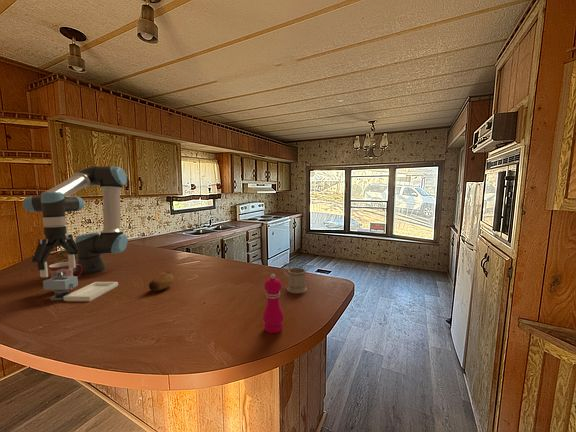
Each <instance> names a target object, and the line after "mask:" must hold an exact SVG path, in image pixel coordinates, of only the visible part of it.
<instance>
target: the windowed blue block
mask: <svg viewBox="0 0 576 432" xmlns="http://www.w3.org/2000/svg"><path fill="white" fill-rule="evenodd" d="M63 279H64V280H58V279H57V276H55V277H53V278H51V277H50V278H48V279H45V280H42V287H43V290H46V291H47V290H48V291H49V290H50V291H51V290H52V291H54V290H66V289H69V288H74V289H75V288H77V287H78V285H79V281H78V279H79V278H78V279H77V275H76V276H74V275H73V276H63Z"/></svg>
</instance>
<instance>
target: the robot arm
mask: <svg viewBox="0 0 576 432" xmlns="http://www.w3.org/2000/svg"><path fill="white" fill-rule="evenodd" d="M127 182H128V178H127V174H126V172H125V170H124V169H123V168H122V167H120V166H115V165H114V166H113V165H108V166H106V165H105V166H98V165H95V166H94V165H93V166H89V167H86V168H82V169H80V170H78V171H76V172H74V173H72V175H71V176H70V177H69V178H68V179H66V180H64V181H62V182H60V183H59V184H57V185H56V186H54V187H52V188H51V187H50V189H47V190H45V191H42V192H41V194H39V195H37V196H35V195H33V196H26V197H25V198H24V199H23V201H22V207H23V208H24V209H25V211H27V212H29V213H42V222H43V235H44V236H45V238H39V239H38V241H37V242H38V243H37V247H36V249H35V252H34V254H33V257H32V259H31V262H32V263H35V264H37V268H38V271H39V276H40V278H48V277H49V269H48V262H47V259H48V257H49V256H50V254H51V252H52V251H53V249H55V248H58V247H62V248H63V250H65V251H66V252H67V253H68V254H67V262H68V263H69V268H74V270H73V273H74V274H75V275H77V274H78V272H79V266H76V265H75V264H80V265H81V266H82V272H81V274H80V275H88V274H94V273H98V272H101V271H103V270H105V269H106V264H105V262H104V260H103V258H102V254H103V255H104V254H120V253H122V252H124V251H125V250H126V248H127V246H128V243H129V241H128V236H127V235H126V234H125V233H124V231H123V230H122V228H121V191H122V190H123V189H124V187H123V186H125V185H127ZM90 186H99V188H100V189H101V190H102V191H103V192H102V203H103V204H102V208H103V209H102V210H103V212H102V213H103V215H102V217H103V218H102V219H103V223H102V224H103V225H102V226H103V229H102V230H101V231H100V233H99V232H98V231H97V232H90V233H85V234H79V235H76V237H75V240H74V237H73V235H72V234H67V233H68V230H67V226H66V225H67V219H66V213H69V212H75V213H76V212H79V211H81V210H83V209H84V207H85V200H84V199H83V198H81V197H80V196H76V195H74V194H75V193H77V192H79V191H80V190H82V189H86V188H89V187H90Z"/></svg>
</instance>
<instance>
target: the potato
mask: <svg viewBox="0 0 576 432" xmlns="http://www.w3.org/2000/svg"><path fill="white" fill-rule="evenodd" d="M173 281H174V274H173V273H172V271H168V270H165V271H164V270H163V271H162V272H160V273H158V275H156V276H155V277H154V278H152V279H151V280H150V282H149V284H148V288H149V290H151V291H155V292H157V291H158V292H159V291H163V290H165V289H168V287H170V286H171V285H172V284H173Z"/></svg>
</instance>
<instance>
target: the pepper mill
mask: <svg viewBox="0 0 576 432" xmlns="http://www.w3.org/2000/svg"><path fill="white" fill-rule="evenodd" d="M263 287H264V289H265V296H266V298H267V304H266V306H265V309H264V311H263V314H262V320H263V322H264V331H265V332H267V333H269V334H277V333H280V332H281V331H282V330H283V321H284V312H283V309H282V307H281V306H280V302H279V301H280V297H281V289H282V281H281V280H280V279H279V278H277V277H276V274H274V273H272V274H270V278H267V279H266V280H265V282H264V286H263Z"/></svg>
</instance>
